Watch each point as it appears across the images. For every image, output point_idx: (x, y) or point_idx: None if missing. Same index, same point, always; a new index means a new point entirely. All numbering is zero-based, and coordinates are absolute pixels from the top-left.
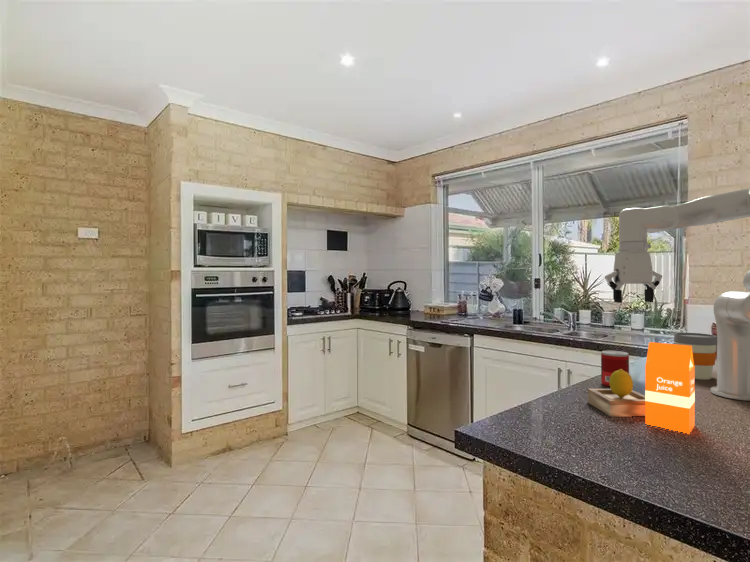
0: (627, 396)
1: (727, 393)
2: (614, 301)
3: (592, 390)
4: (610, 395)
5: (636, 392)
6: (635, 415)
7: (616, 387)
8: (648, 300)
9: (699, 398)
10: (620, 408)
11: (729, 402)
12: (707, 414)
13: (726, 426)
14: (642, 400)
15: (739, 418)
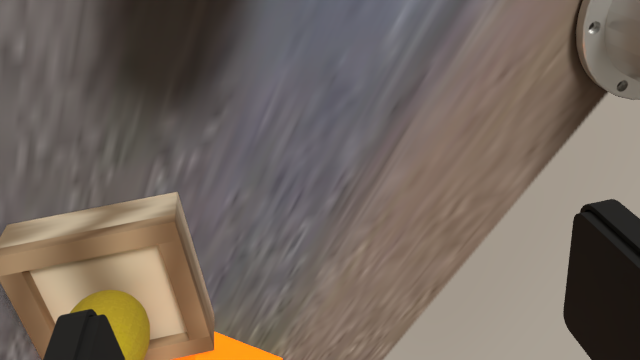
0: (145, 274)
1: (604, 54)
2: (62, 324)
3: (6, 280)
4: (81, 275)
5: (181, 269)
6: None
7: None
8: (576, 298)
9: (477, 82)
10: None
11: (546, 117)
12: (377, 262)
13: (362, 343)
14: (168, 354)
15: (443, 276)
